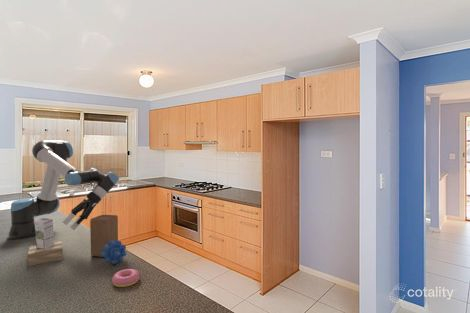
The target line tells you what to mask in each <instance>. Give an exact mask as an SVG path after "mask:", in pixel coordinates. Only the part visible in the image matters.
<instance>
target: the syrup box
mask: <svg viewBox="0 0 470 313" xmlns="http://www.w3.org/2000/svg"><path fill="white" fill-rule="evenodd" d="M34 222H35V235H34V236H35V245H36V248H39V249H47V248H50V247H52V246H54V245H55V244H54V242H55V235H54V234H55V231H54V220H53V218H48V217H42V218H39V219H36V220H34Z"/></svg>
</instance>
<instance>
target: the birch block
mask: <svg viewBox="0 0 470 313" xmlns="http://www.w3.org/2000/svg"><path fill="white" fill-rule="evenodd" d="M54 244H55V245H54V246H52V247H50V248H47V249H39V248H36V244H33V245H29V249H28V251H27V252H28V253H27V266H28V267H31V266H35V265H41V264H45V263H51V262H54V261H55V262H57V261H61V260H63V259H64V258H63V256H64V254H63V253H64V252H63V241H62V240H57V241H54Z"/></svg>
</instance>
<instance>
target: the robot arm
mask: <svg viewBox="0 0 470 313" xmlns="http://www.w3.org/2000/svg"><path fill="white" fill-rule="evenodd" d="M31 151H32V155H33V157H34V158H35V159H36V160H37V161H38V162H40V163H44V164H46V169H45V173H44V177H43V181H42V185H41V190H40V193H38V194H37V195H36V198H35V199H34V197H26V198H20V199H16V200H14V201H12V202H11V204H10V215H11V217H10V219H11V225H10V228H9V231H8V233H7V238H8V239H10V240H19V239H26V238H30V237H34V236H36V235H35V218H36V217H41V216H44V215H51V214H53V213H55V212H57V211H58V210H59V208H60V204H61V203H60V199H59V197H58V195H57V190H58V186H59V182H60V179H61V176H62V177H63V178H64V182H65V183H66V184H65V185H67V186H69V187H75V186H82V185H89V184H94V183H95V184H96V185H95V187H93V188H92V189H91V191H90V192H89V193H87V195H86V198H87V199H86V198H84V199H83V200H82V201H81V202H80V203H78V204H77V205H76V206H74V207H73V208H72V209H71V211H70V214H68V216H66V217H65V219H64V220H63V221H62V224H64V225H65V226H67V225H68V224H69V223H70V222H71V221H72V220H73V219H74V218H75V217H76V216H77V215H78V214H79V212H81V214H79V215H78V217H77V218H76V219H75V220H74V222H73V223H72V224H71V225H70V226H69V228H70V229H72V230H73V231H75V230H76V229H77V228H78V227H79V226H80V224H81V223H82V222H83V221H84V220H87V219H88V218H89V216H90V214H91V213H92V211H93V210H94V208H95V207H96V206H97V205H99V203H100V202H101V201H102V199H104V198H105V197H106V196H107V194H108V193H109V192H110V191H111V189H113V188H114V187H115V186H116V185H117V183H118V182H119V180H120V177H119V176H118V175H117V174H116V173H114V172H112V171H109V172H108V173H105V172H103V171H102V170H100V169H98V168H95V167H91V168H89V169H88V170H86V171H83V170H82V171H81V170H79V169H78V168H76V167H74V166H73V165H71V164H70V163H69V162H67V161H68V159H70V158H71V157H72V156H73V155H74V148H73V147H72V144H71V143H70V142H69V141H66V140H65V141H64V140H40V141H38V142H37V143H35V144H34V145H33V147H32V150H31Z"/></svg>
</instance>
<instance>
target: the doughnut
mask: <svg viewBox="0 0 470 313" xmlns="http://www.w3.org/2000/svg"><path fill="white" fill-rule="evenodd" d="M140 275H141V274H140V271H138V270H137V269H133V268H125V269H121V270H119V271H117V272H115V273H114V274H113V276H112V279H111V281H112V282H111V283H112V285H113V286H115V287H117V288H126V287H131V286H133V285H134V284H136V283H138V281H139V279H140Z"/></svg>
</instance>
